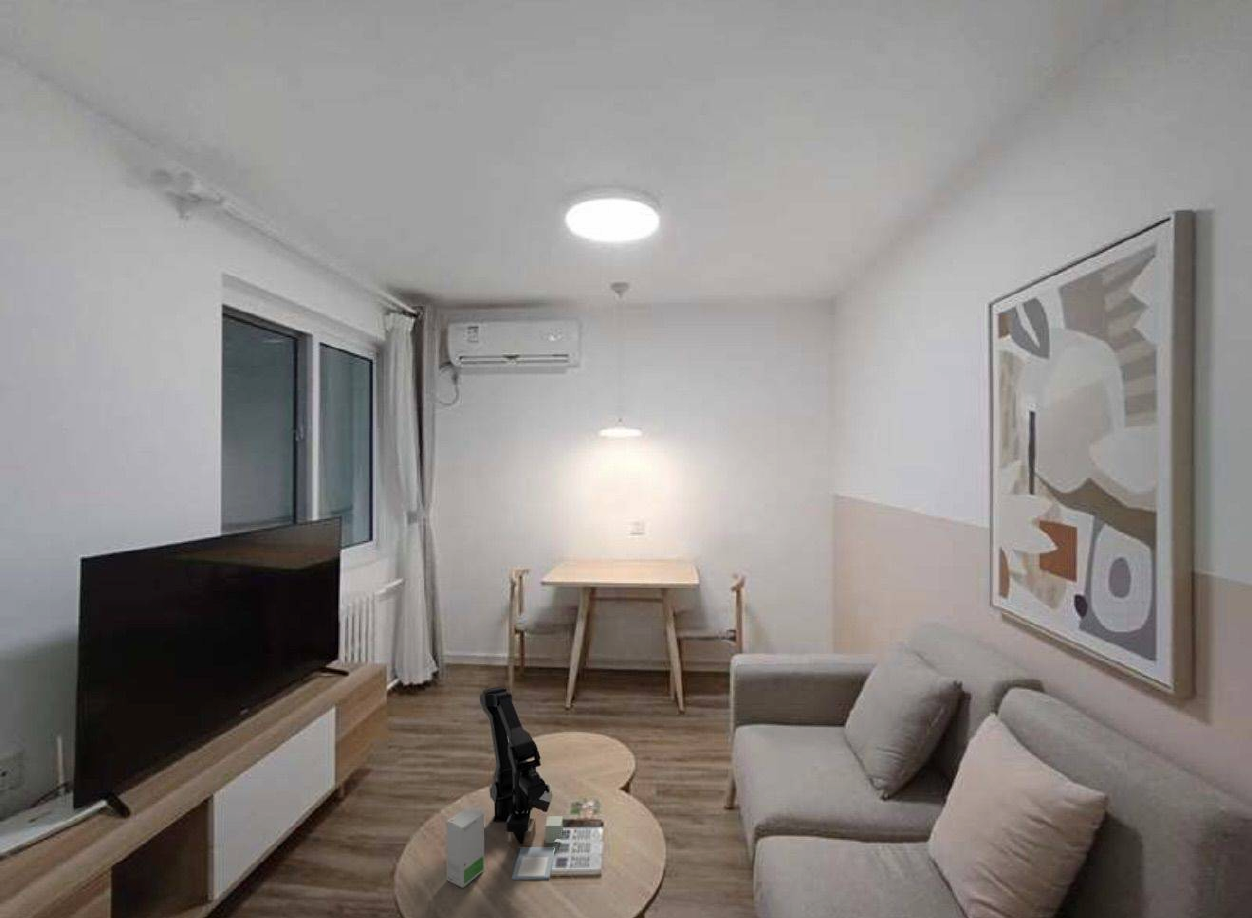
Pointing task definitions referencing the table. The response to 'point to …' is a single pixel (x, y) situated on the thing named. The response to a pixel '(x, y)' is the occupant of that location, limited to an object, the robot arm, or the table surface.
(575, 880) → the table surface
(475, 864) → the skincare box
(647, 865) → the table surface
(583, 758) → the table surface
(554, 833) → the sage block
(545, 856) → the board
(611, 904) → the table surface
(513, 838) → the walnut block
